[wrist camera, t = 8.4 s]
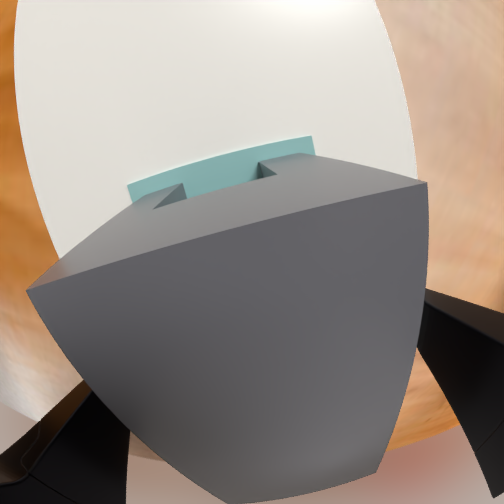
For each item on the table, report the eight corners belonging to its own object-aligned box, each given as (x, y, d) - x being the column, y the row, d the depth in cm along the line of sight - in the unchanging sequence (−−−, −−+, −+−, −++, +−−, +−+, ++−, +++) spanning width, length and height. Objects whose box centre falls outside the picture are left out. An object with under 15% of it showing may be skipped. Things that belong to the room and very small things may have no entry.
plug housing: (299, 152, 8) (427, 183, 2) (331, 360, 12) (375, 472, 6) (144, 195, 8) (26, 290, 3) (225, 386, 12) (229, 504, 6)
